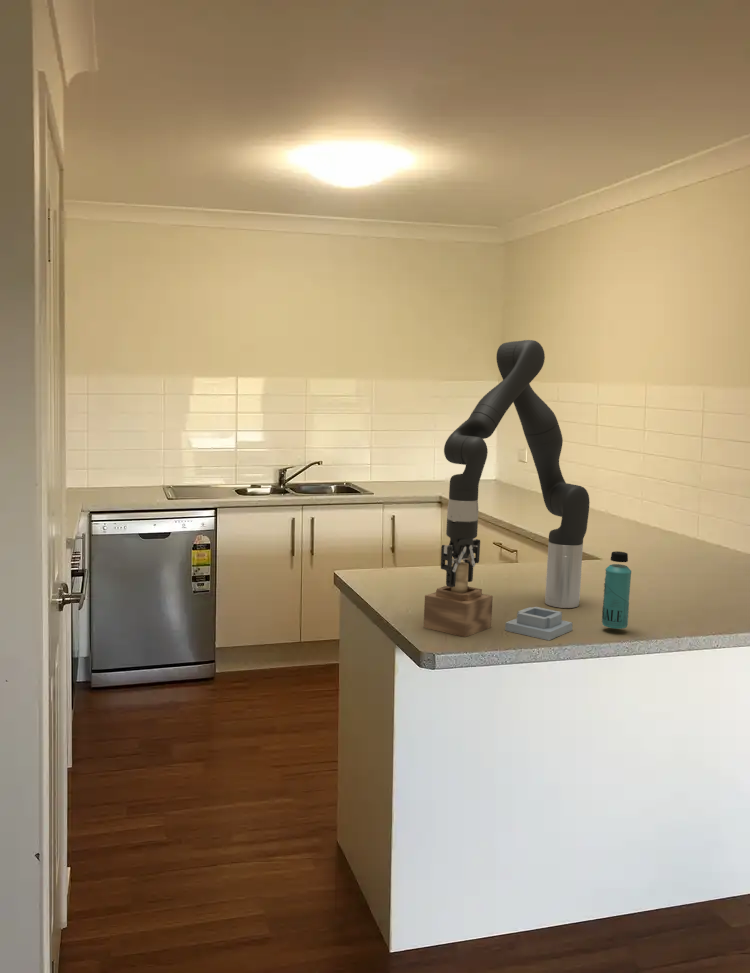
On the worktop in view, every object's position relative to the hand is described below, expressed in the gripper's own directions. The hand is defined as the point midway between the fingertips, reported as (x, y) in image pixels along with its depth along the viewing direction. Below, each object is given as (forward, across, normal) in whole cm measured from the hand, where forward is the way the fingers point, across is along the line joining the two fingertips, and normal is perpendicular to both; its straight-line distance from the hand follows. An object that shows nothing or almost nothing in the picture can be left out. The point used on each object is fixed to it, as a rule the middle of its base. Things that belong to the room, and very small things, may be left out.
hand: (459, 583), depth 234 cm
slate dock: (+11, -12, +16) cm, 23 cm away
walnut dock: (+11, 0, 0) cm, 11 cm away
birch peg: (+3, 0, 0) cm, 3 cm away
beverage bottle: (+11, -25, +30) cm, 41 cm away
